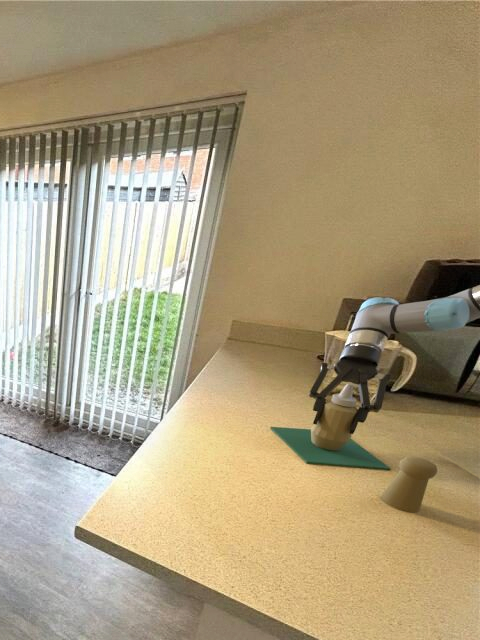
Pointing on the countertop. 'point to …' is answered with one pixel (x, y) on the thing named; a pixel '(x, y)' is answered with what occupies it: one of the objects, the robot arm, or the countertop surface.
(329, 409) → the squeeze bottle
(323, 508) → the countertop surface
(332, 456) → the mat
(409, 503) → the cork
